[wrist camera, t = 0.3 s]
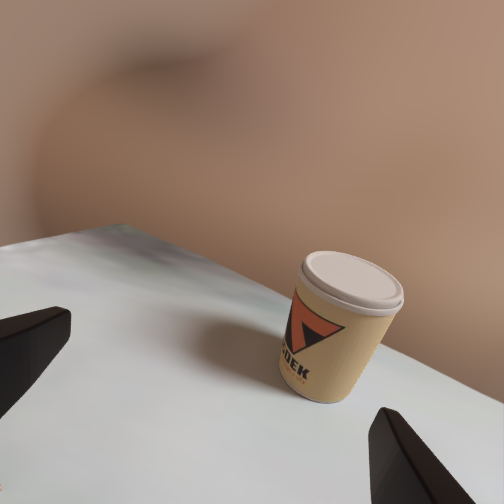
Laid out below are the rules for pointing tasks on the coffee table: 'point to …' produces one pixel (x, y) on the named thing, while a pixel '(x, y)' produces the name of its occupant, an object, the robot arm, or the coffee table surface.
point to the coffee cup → (336, 323)
